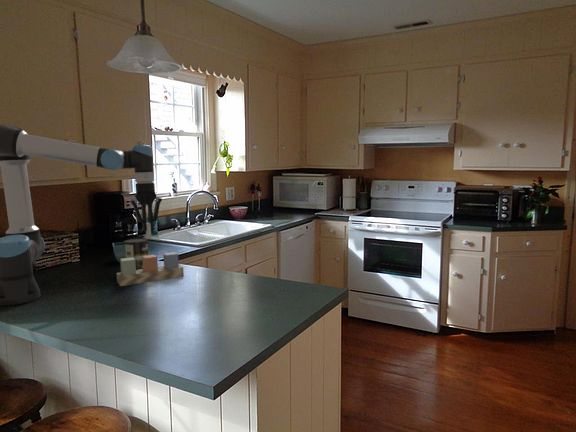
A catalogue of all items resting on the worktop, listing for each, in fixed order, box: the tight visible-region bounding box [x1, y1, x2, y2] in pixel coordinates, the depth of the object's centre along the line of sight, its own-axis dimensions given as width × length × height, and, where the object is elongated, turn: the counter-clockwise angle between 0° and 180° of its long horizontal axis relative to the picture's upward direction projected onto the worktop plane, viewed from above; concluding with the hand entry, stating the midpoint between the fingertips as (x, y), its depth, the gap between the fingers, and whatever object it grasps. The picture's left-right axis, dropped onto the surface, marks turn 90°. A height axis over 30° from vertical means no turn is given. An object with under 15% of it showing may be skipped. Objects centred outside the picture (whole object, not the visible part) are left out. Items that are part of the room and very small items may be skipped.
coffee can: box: [123, 238, 149, 270], centre depth 204 cm, size 10×10×14 cm
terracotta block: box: [142, 254, 159, 272], centre depth 187 cm, size 5×5×7 cm
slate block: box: [162, 251, 180, 269], centre depth 192 cm, size 5×5×7 cm
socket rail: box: [116, 264, 185, 287], centre depth 188 cm, size 26×7×4 cm, turn 121°
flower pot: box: [112, 241, 126, 263], centre depth 223 cm, size 9×9×9 cm
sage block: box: [119, 257, 136, 276], centre depth 183 cm, size 5×5×7 cm
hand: (148, 238), depth 186 cm, fingers closed
